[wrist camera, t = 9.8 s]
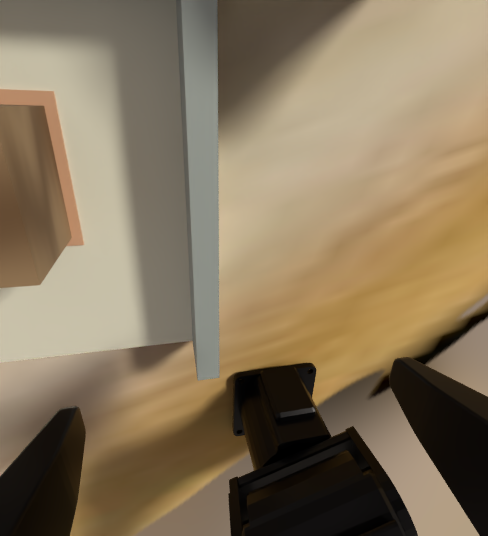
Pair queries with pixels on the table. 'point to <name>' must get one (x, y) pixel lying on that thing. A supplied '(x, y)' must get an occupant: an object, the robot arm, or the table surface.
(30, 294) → the arena
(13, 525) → the robot arm
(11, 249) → the walnut block
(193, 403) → the table surface
